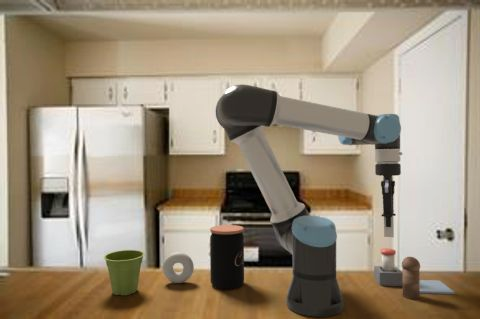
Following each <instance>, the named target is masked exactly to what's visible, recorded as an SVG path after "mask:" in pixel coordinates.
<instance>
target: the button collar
mask: <svg viewBox="0 0 480 319" xmlns="http://www.w3.org/2000/svg"><path fill="white" fill-rule="evenodd" d="M373 270H374V271H373V278H374V280H375V281H376V282H377V284H378V285H379V286H385V287H403V271H402V270H401V269H400V268H398V267H397V266H395V272H384V271H382V265H374V266H373Z"/></svg>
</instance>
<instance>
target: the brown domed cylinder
mask: <svg viewBox="0 0 480 319" xmlns="http://www.w3.org/2000/svg"><path fill="white" fill-rule="evenodd" d="M401 267H402V273H403V286H402V297H403V298H405V299H408V300H414V301H415V300H419V299H420V296H421V295H420V294H421V293H420V281H419V280H420V270H421V263H420V261H419V260H418V259H417V258H416V257H414V256H406V257H405V258H403V260H402V261H401Z"/></svg>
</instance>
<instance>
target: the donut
mask: <svg viewBox="0 0 480 319" xmlns="http://www.w3.org/2000/svg"><path fill="white" fill-rule="evenodd" d="M176 264H180V265H182V267H183V269H182V270H181V271H180V272H178V271H176V270H174V266H175V265H176ZM194 267H195V265H194V262H193V260H192V258H191V256H190V255H189V254H187V253H184V252H182V251H181V252H180V251H176V252H172V253H170V254H169V255H168V256H166V258H165V259H164V261H163V263H162V273H163V275H164V277H165V278H166V279H167V280H168V281H170V282H171V283H173V284H182V283H184V282H186V281H188V280H189V279H190V278H191V277H192V276H193V273H194V269H195V268H194Z"/></svg>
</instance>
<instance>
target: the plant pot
mask: <svg viewBox="0 0 480 319" xmlns="http://www.w3.org/2000/svg"><path fill="white" fill-rule="evenodd" d="M145 255H146V254H145V252H144V251H143V250H137V249H123V250H116V251H111V252H109V253H106V254H105V255H104V256H103V260H105V263H106V267H107V270H108V271H107V272H108V275H109V281H110V286H111V292H112V294H113V295H115V296H120V295H121V296H124V295H125V296H129V295H132V293H133V294H134V293H136V292H137V291H138V286H139V280H140V275H141V274H140V273H141V266H142V263H143V259H144V256H145Z"/></svg>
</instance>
